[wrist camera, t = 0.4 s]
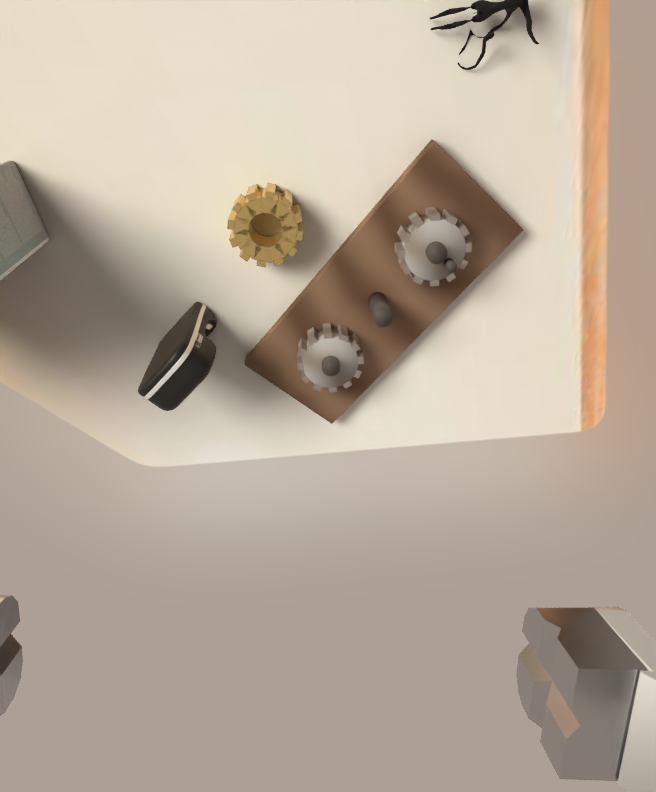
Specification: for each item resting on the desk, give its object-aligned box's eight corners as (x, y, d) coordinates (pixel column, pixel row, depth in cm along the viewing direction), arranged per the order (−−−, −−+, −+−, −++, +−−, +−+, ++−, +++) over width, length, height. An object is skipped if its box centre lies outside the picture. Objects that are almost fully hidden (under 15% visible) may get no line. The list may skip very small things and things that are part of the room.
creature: (436, 76, 50) (533, 53, 48) (435, 82, 46) (542, 58, 44) (424, -33, 46) (529, -63, 44) (422, -38, 42) (538, -71, 40)
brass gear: (259, 167, 52) (257, 174, 49) (317, 215, 55) (318, 225, 52) (217, 225, 55) (212, 235, 52) (273, 268, 57) (272, 281, 54)
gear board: (431, 139, 52) (446, 149, 47) (518, 225, 56) (540, 243, 51) (245, 357, 62) (241, 385, 57) (331, 416, 66) (334, 447, 61)
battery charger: (187, 365, 62) (167, 424, 52) (157, 343, 61) (131, 400, 51) (228, 320, 60) (216, 374, 50) (199, 297, 58) (180, 347, 48)
